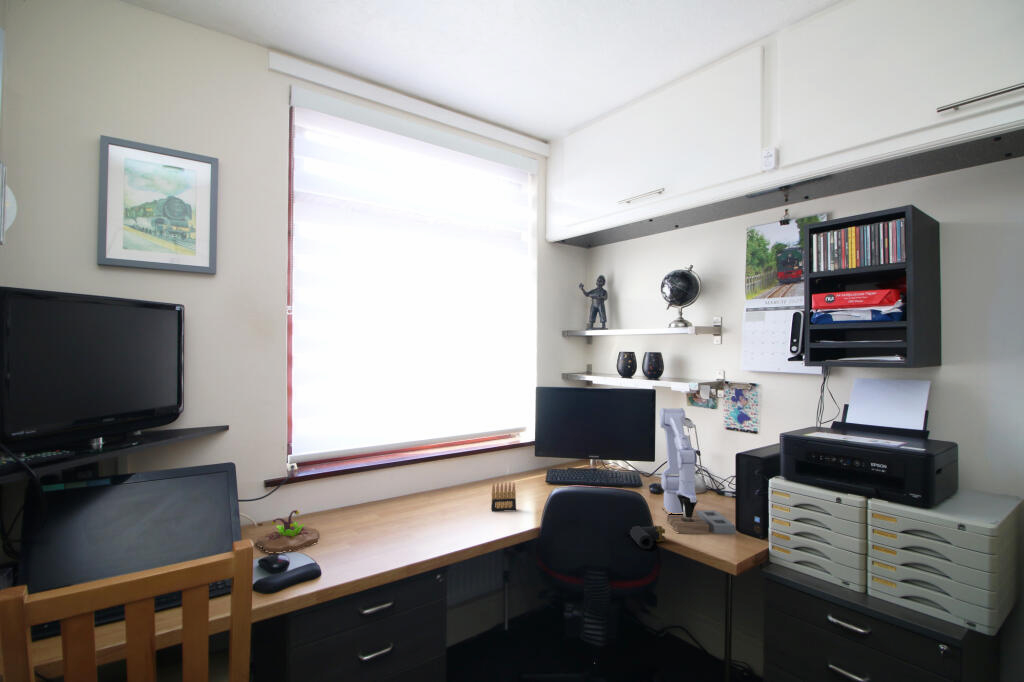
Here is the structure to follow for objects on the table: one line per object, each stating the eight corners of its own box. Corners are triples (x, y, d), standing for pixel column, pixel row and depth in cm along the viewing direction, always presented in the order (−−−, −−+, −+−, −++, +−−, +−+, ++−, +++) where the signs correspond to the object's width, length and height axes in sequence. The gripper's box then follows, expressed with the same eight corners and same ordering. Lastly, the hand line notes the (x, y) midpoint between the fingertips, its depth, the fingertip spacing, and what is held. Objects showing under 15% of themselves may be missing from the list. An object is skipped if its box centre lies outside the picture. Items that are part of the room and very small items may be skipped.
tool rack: (696, 517, 204) (696, 510, 204) (716, 517, 204) (716, 510, 204) (714, 533, 186) (714, 525, 186) (735, 533, 186) (735, 525, 186)
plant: (328, 543, 177) (328, 511, 177) (270, 558, 164) (270, 524, 164) (307, 529, 191) (307, 499, 192) (252, 542, 178) (252, 510, 178)
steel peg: (682, 524, 193) (682, 501, 194) (689, 524, 193) (689, 501, 194) (684, 527, 190) (684, 503, 191) (692, 527, 190) (692, 503, 191)
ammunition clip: (515, 509, 215) (515, 481, 215) (516, 510, 213) (516, 482, 214) (491, 510, 214) (491, 482, 214) (491, 511, 212) (491, 483, 212)
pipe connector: (654, 519, 187) (671, 533, 172) (655, 533, 187) (671, 548, 172) (625, 520, 186) (639, 535, 171) (625, 534, 186) (639, 550, 171)
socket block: (667, 522, 198) (667, 515, 198) (697, 522, 198) (697, 515, 198) (677, 533, 186) (676, 525, 186) (708, 533, 186) (708, 525, 186)
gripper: (670, 475, 200) (671, 509, 199) (683, 485, 185) (683, 521, 185) (688, 475, 200) (688, 509, 199) (701, 485, 185) (702, 521, 185)
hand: (687, 515), depth 192 cm, fingers closed on steel peg, 3 cm apart
